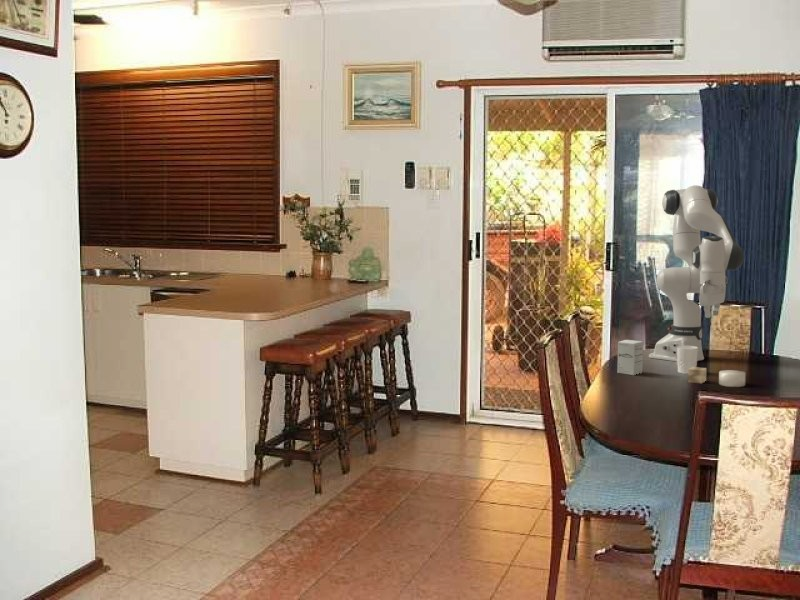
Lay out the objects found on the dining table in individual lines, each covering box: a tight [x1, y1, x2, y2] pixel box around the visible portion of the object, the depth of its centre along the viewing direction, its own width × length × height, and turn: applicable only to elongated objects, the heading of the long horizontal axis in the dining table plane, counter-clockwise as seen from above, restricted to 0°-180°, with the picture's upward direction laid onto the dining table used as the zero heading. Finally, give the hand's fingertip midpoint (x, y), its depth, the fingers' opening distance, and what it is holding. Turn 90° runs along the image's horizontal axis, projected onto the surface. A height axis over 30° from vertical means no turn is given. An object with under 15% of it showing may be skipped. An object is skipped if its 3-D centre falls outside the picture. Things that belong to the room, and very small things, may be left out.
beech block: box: [687, 366, 707, 384], centre depth 326 cm, size 5×5×5 cm
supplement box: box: [616, 339, 644, 376], centre depth 344 cm, size 7×7×13 cm
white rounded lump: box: [718, 369, 746, 388], centre depth 321 cm, size 9×9×4 cm
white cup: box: [676, 346, 698, 375], centre depth 343 cm, size 8×8×10 cm
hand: (711, 316), depth 328 cm, fingers open, 8 cm apart
